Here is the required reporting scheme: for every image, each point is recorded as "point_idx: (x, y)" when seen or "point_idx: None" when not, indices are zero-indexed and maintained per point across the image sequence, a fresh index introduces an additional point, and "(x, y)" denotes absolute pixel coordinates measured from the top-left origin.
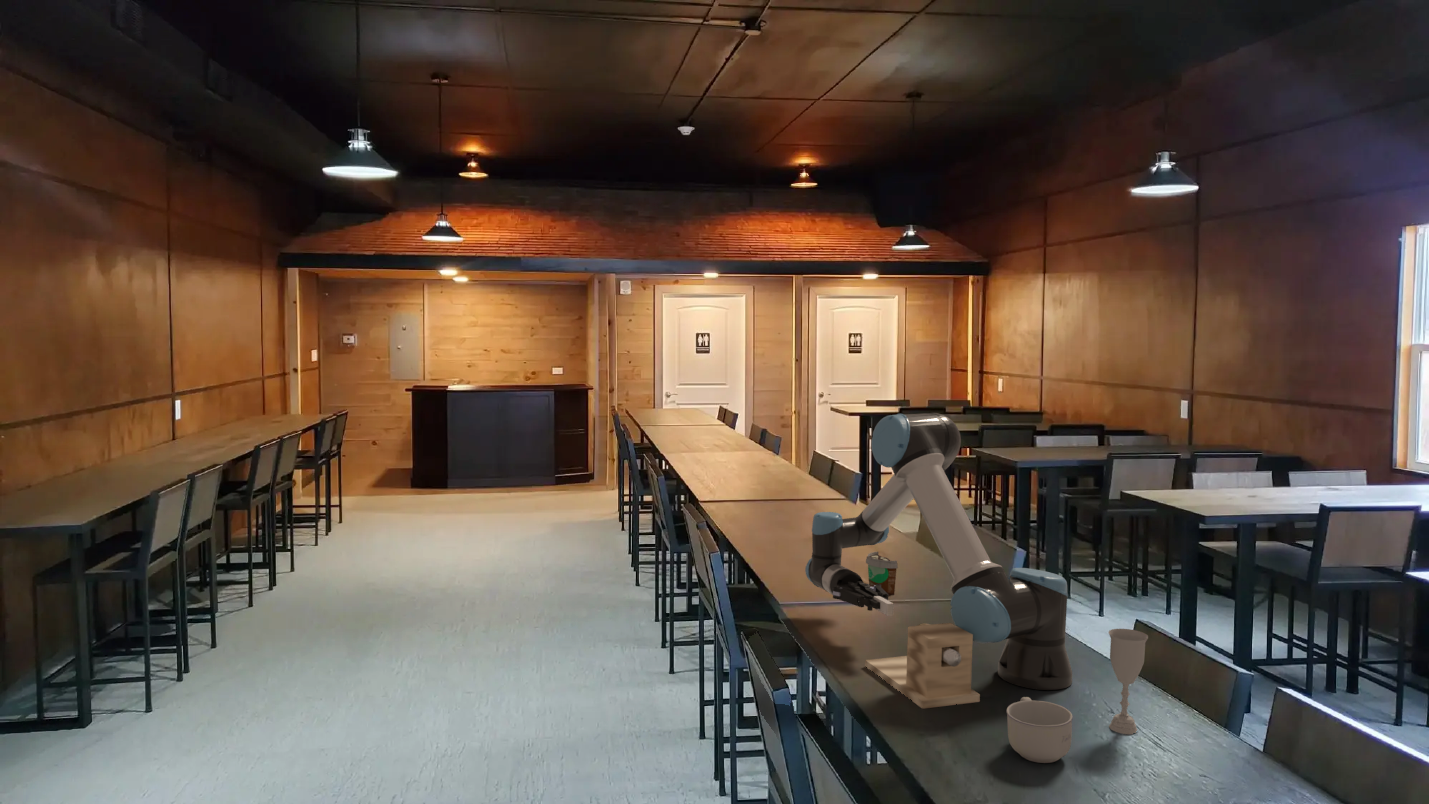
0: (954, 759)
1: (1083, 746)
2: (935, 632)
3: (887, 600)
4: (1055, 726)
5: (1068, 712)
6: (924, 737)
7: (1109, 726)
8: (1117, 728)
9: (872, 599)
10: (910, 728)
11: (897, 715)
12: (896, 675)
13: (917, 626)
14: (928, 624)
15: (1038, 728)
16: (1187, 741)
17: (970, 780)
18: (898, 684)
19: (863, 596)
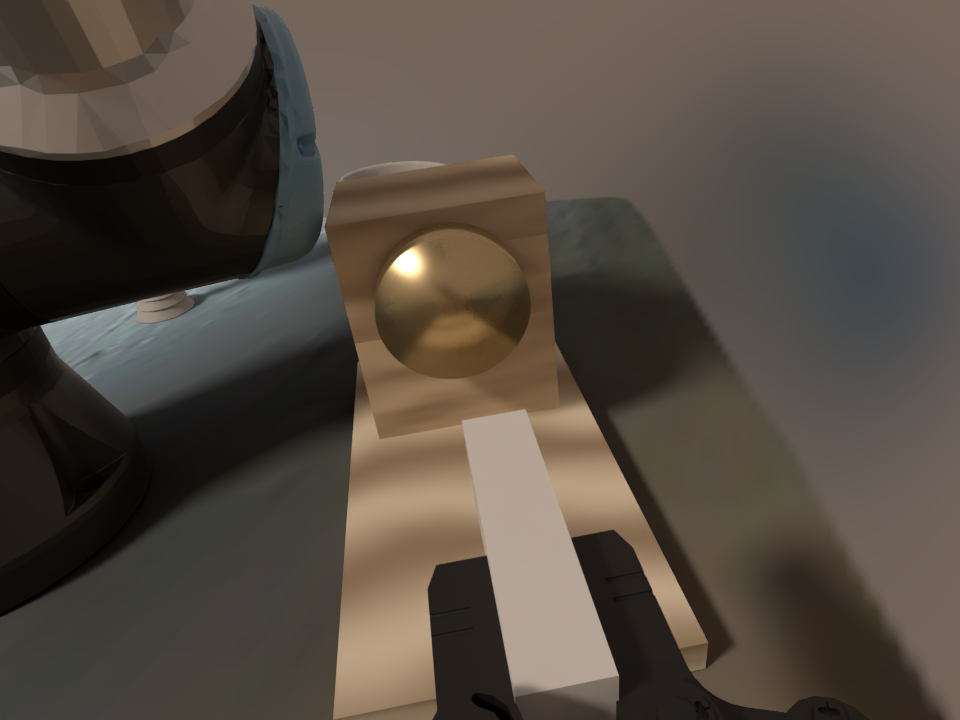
0: (562, 236)
1: (307, 270)
2: (459, 177)
3: (483, 495)
4: (404, 162)
5: (347, 176)
6: (593, 270)
7: (184, 310)
8: (188, 297)
9: (640, 677)
10: (613, 288)
11: (631, 323)
12: (574, 464)
13: (501, 195)
14: (420, 239)
15: (429, 167)
16: None
17: (561, 211)
18: (588, 409)
19: (799, 718)
